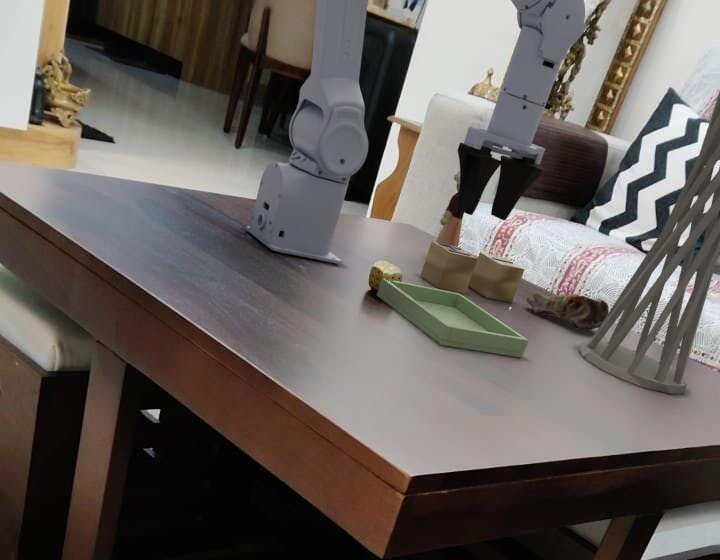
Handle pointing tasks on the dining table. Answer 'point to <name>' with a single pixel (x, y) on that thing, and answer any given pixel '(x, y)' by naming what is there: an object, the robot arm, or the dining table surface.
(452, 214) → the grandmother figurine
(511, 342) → the tray
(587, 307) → the rock
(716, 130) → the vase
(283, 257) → the dining table surface
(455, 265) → the wooden h block
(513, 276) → the wooden i block
